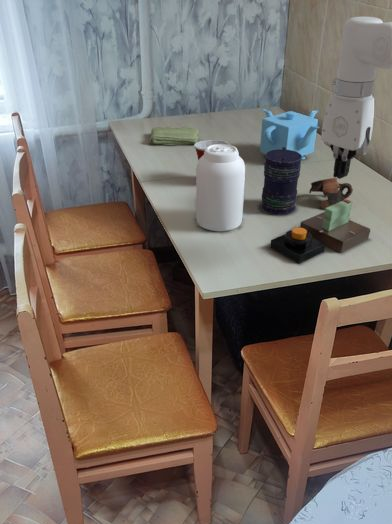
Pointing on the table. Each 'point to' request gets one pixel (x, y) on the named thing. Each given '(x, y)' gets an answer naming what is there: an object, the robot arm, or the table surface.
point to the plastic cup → (202, 146)
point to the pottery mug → (331, 191)
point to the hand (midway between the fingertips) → (340, 176)
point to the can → (220, 188)
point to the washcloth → (174, 135)
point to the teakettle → (289, 132)
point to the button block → (297, 247)
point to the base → (336, 233)
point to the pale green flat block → (337, 215)
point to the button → (299, 233)
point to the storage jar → (280, 181)
